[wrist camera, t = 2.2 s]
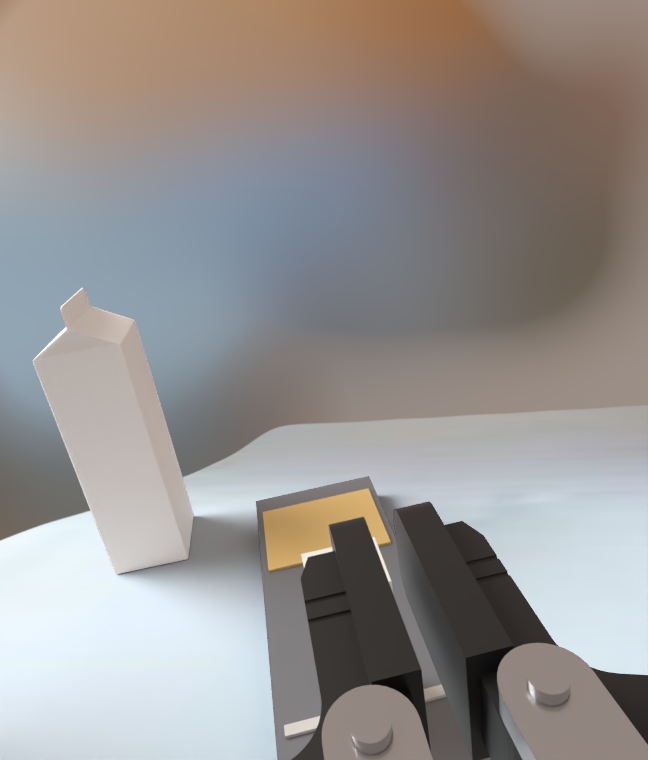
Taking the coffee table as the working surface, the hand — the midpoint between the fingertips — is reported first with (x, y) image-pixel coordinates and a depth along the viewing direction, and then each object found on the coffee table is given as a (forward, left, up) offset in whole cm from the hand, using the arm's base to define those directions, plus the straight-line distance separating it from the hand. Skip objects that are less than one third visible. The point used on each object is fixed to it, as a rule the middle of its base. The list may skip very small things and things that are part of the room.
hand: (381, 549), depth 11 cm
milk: (-14, +32, -22) cm, 41 cm away
